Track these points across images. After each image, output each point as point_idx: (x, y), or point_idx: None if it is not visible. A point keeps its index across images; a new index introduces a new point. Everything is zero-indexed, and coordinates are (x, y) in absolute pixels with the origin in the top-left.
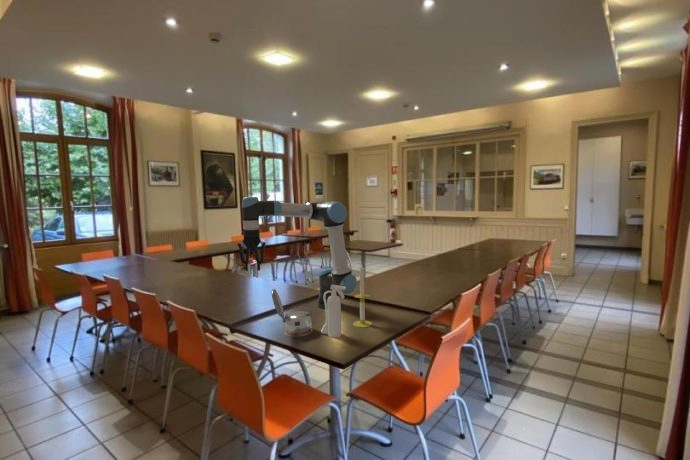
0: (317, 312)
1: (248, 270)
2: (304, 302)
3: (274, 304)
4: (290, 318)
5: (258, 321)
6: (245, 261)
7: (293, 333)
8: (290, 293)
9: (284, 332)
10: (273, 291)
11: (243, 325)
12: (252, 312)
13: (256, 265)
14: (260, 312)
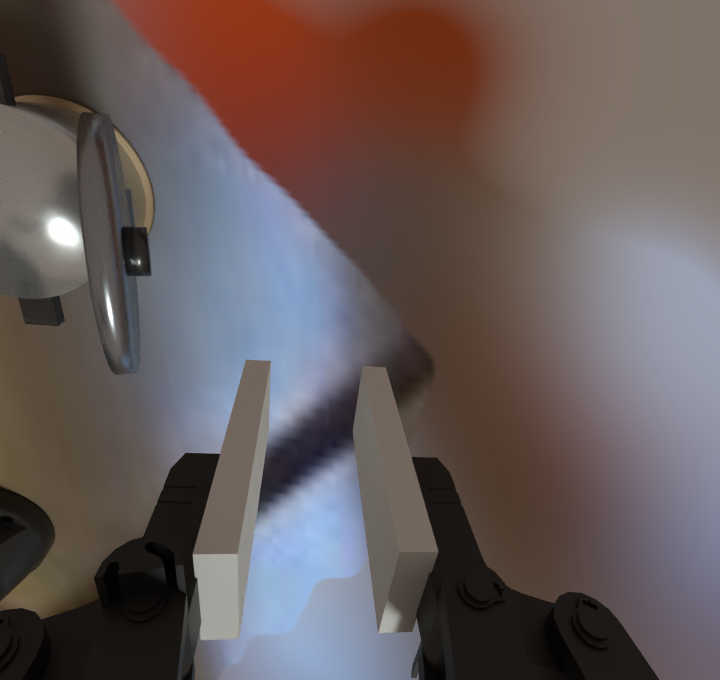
0: (30, 450)
1: (397, 447)
2: None
3: (100, 119)
4: (44, 147)
5: (315, 384)
6: (521, 650)
7: (70, 112)
8: (212, 651)
9: (149, 186)
10: (84, 245)
11: (382, 348)
12: (351, 487)
13: (213, 529)
14: (316, 483)
